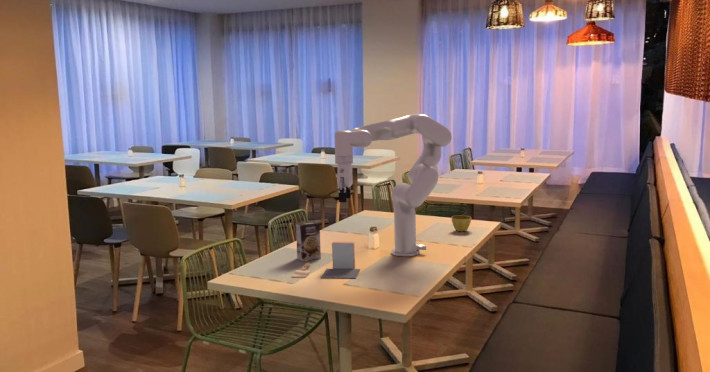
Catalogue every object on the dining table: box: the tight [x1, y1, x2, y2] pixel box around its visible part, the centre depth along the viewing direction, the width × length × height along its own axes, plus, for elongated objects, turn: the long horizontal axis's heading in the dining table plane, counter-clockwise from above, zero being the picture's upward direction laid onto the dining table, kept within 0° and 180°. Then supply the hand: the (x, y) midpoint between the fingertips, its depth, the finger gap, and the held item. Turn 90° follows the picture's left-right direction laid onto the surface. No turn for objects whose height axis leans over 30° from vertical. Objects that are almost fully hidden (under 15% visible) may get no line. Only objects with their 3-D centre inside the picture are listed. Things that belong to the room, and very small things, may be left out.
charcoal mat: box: [320, 268, 361, 280], centre depth 241 cm, size 14×12×1 cm
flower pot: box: [451, 214, 472, 232], centre depth 307 cm, size 10×10×7 cm
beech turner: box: [291, 262, 311, 279], centre depth 246 cm, size 17×6×1 cm, turn 172°
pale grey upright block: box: [331, 241, 356, 269], centre depth 248 cm, size 9×2×11 cm, turn 82°
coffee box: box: [295, 220, 322, 262], centre depth 264 cm, size 9×6×16 cm
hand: (344, 200), depth 254 cm, fingers open, 9 cm apart
